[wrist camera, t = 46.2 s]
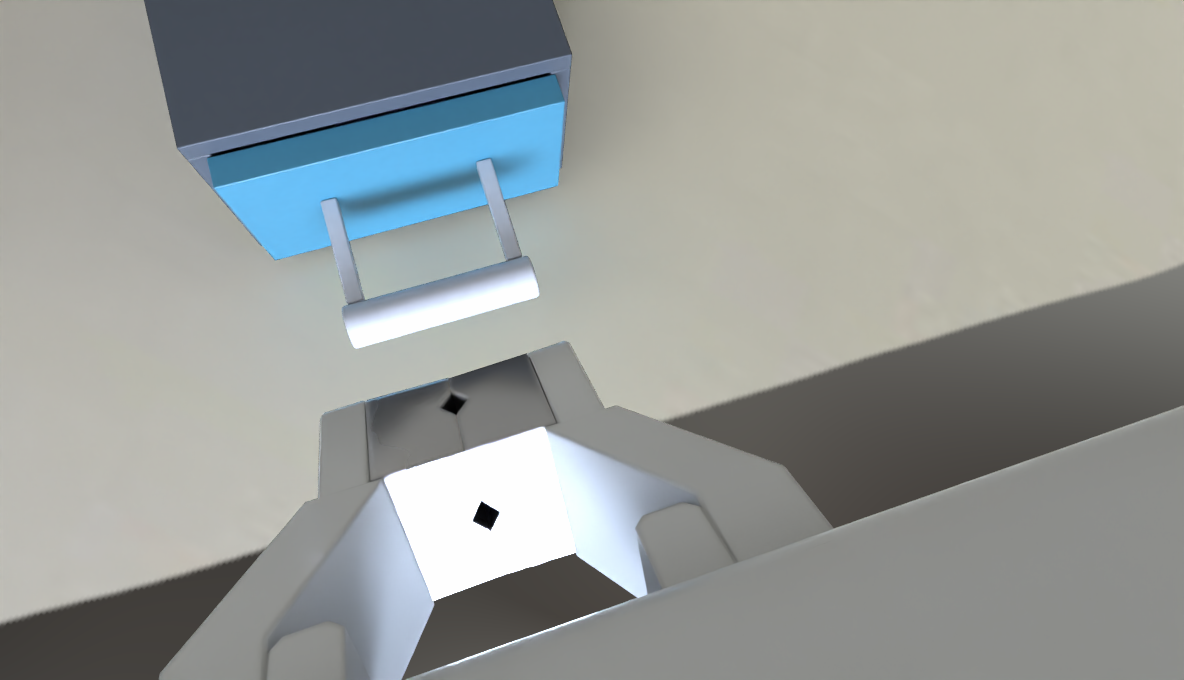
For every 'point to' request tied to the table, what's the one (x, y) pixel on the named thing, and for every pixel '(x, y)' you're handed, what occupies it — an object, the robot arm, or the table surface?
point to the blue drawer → (404, 194)
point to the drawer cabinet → (336, 62)
